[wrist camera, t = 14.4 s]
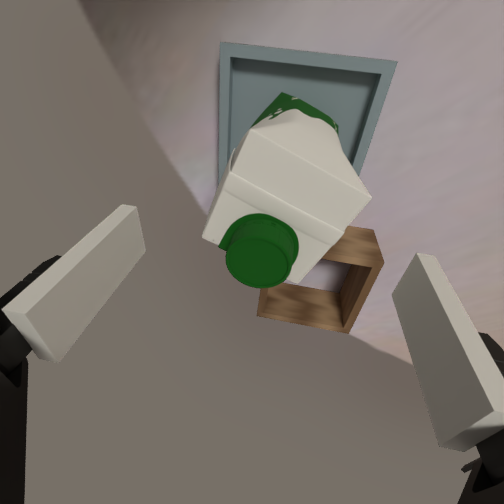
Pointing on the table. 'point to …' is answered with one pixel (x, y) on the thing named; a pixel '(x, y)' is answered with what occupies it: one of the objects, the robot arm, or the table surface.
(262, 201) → the soya milk
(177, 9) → the table surface
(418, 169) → the table surface
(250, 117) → the tray
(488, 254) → the table surface
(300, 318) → the holder
